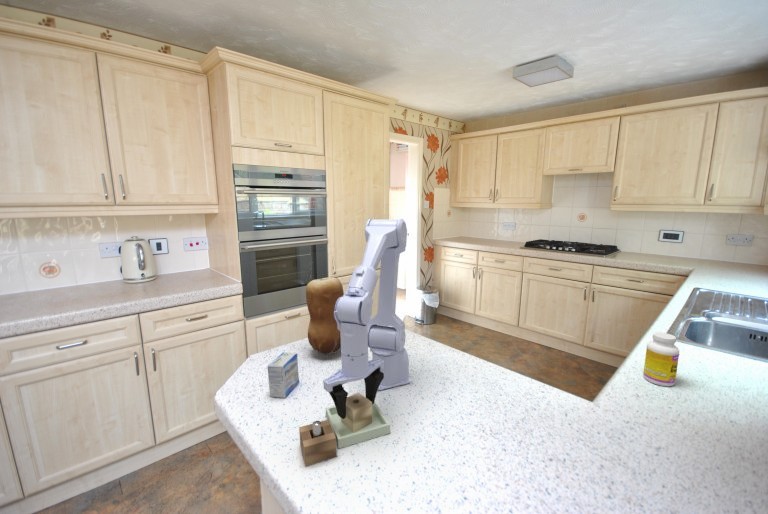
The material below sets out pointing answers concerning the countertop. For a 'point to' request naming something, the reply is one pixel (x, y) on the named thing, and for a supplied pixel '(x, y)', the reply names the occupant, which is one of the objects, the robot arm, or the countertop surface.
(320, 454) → the slotted wooden block
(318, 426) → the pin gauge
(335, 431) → the tray
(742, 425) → the countertop surface
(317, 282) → the butternut squash
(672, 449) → the countertop surface
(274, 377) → the medicine box
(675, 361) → the supplement bottle
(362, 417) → the block
